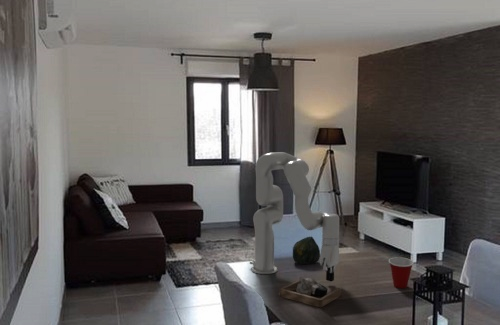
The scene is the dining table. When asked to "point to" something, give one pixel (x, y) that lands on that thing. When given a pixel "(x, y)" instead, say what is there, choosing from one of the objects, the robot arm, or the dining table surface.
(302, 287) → the caster wheel
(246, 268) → the dining table surface
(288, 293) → the walnut bay
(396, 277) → the plastic cup
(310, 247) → the squash
